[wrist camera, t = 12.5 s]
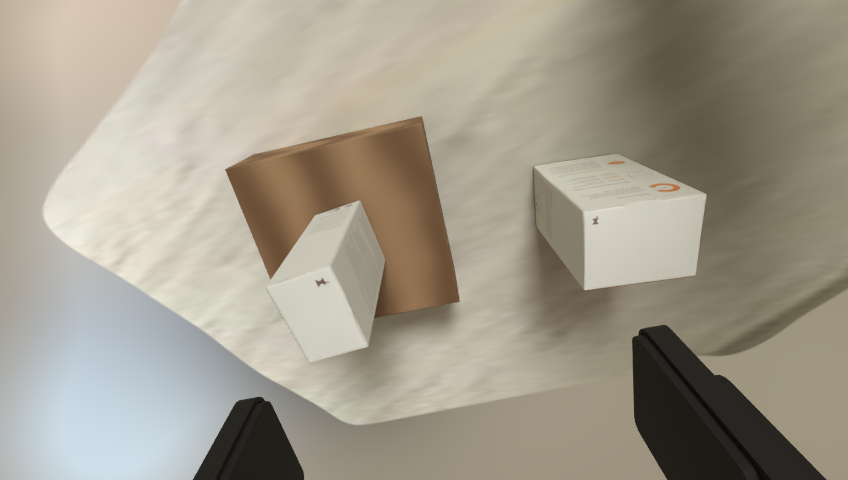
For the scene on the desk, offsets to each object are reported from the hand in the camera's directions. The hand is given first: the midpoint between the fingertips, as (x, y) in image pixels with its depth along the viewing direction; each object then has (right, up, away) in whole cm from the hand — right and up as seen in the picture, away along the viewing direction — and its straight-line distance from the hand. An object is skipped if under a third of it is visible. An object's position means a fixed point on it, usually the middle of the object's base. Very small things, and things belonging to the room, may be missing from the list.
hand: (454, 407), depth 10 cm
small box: (+14, +9, +29) cm, 34 cm away
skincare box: (-7, +4, +25) cm, 26 cm away
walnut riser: (-7, +7, +30) cm, 32 cm away
